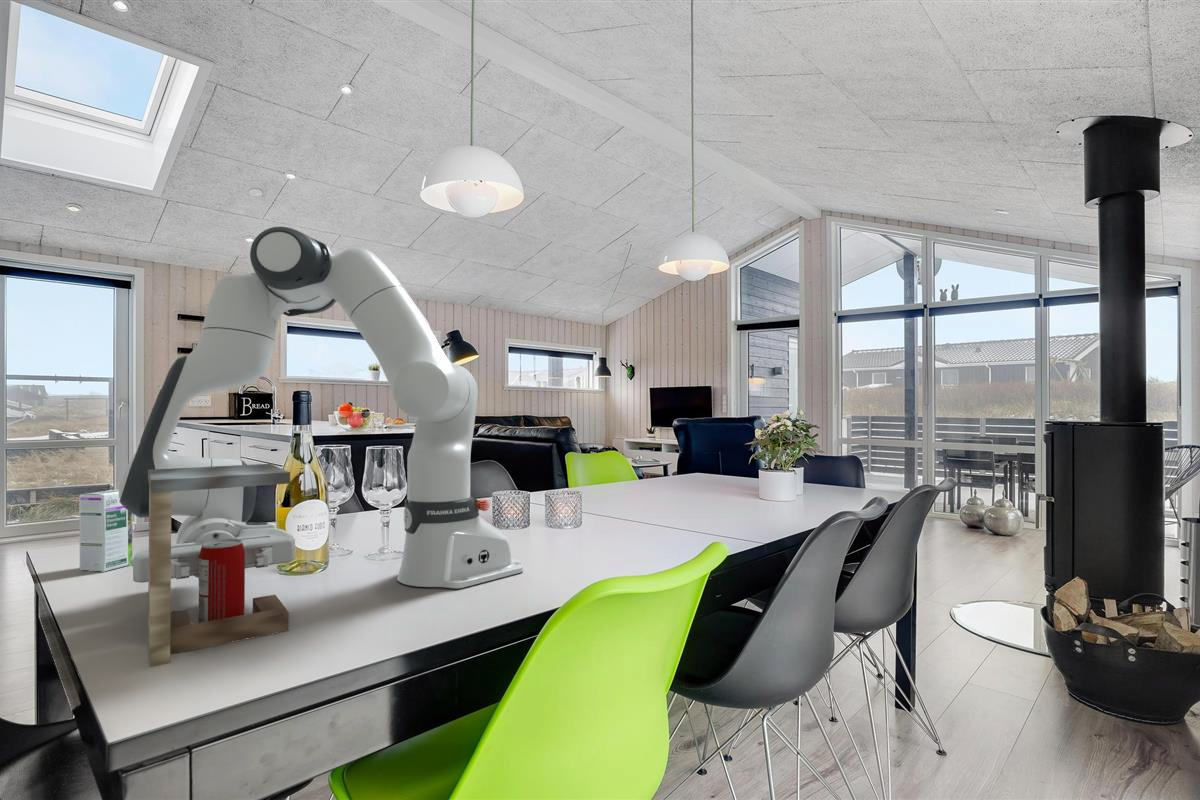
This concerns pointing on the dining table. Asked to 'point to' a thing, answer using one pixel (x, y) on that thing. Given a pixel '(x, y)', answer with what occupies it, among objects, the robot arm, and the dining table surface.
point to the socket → (228, 626)
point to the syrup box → (104, 531)
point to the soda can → (221, 580)
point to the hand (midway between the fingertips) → (224, 566)
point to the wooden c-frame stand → (160, 533)
